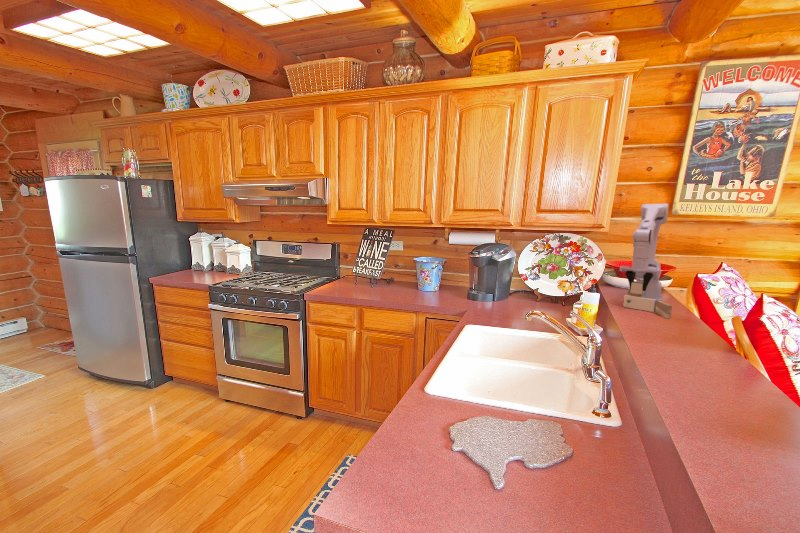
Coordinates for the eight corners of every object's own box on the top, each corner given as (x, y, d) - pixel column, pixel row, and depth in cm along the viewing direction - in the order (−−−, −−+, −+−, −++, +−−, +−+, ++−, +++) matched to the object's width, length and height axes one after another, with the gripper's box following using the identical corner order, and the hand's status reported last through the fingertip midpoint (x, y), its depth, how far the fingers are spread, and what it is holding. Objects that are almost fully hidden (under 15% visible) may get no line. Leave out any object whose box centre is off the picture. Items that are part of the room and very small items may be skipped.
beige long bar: (630, 300, 162) (631, 289, 161) (670, 318, 134) (672, 305, 134) (627, 300, 162) (628, 289, 161) (666, 318, 134) (668, 305, 134)
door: (623, 306, 151) (625, 294, 151) (657, 312, 142) (659, 300, 141) (622, 307, 150) (623, 295, 149) (656, 313, 141) (657, 301, 140)
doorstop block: (633, 291, 153) (634, 281, 152) (644, 293, 150) (645, 282, 149) (630, 292, 150) (631, 282, 149) (641, 294, 147) (642, 283, 146)
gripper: (618, 257, 151) (615, 288, 153) (658, 260, 140) (655, 294, 142) (624, 255, 155) (621, 286, 157) (664, 258, 144) (660, 291, 146)
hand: (637, 289), depth 150 cm, fingers closed on doorstop block, 4 cm apart
